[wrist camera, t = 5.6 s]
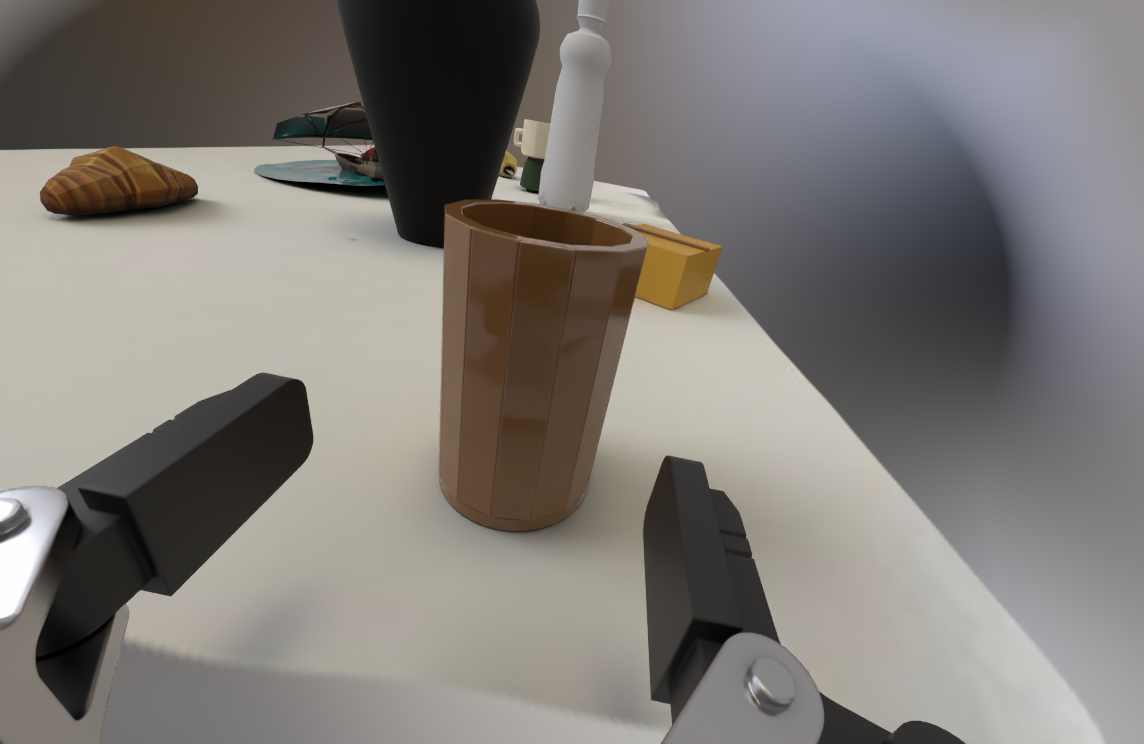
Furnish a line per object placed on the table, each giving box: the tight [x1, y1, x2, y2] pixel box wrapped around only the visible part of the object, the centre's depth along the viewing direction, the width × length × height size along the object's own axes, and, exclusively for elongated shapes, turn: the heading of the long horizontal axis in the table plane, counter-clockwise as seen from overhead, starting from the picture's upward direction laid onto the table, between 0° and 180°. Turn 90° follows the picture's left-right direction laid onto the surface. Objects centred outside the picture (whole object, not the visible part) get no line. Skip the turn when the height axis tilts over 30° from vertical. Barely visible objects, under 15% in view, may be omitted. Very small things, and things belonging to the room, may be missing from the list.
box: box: [622, 223, 722, 310], centre depth 43 cm, size 9×9×5 cm
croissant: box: [40, 146, 198, 215], centre depth 38 cm, size 14×7×5 cm, turn 178°
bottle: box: [538, 0, 612, 213], centre depth 69 cm, size 9×9×30 cm
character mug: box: [514, 120, 551, 190], centre depth 89 cm, size 11×7×13 cm, turn 79°
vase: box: [337, 0, 540, 247], centre depth 39 cm, size 17×17×35 cm
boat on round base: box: [255, 102, 385, 186], centre depth 67 cm, size 28×28×11 cm
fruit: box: [499, 151, 517, 177], centre depth 106 cm, size 6×6×10 cm
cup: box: [439, 200, 648, 531], centre depth 15 cm, size 6×6×10 cm
